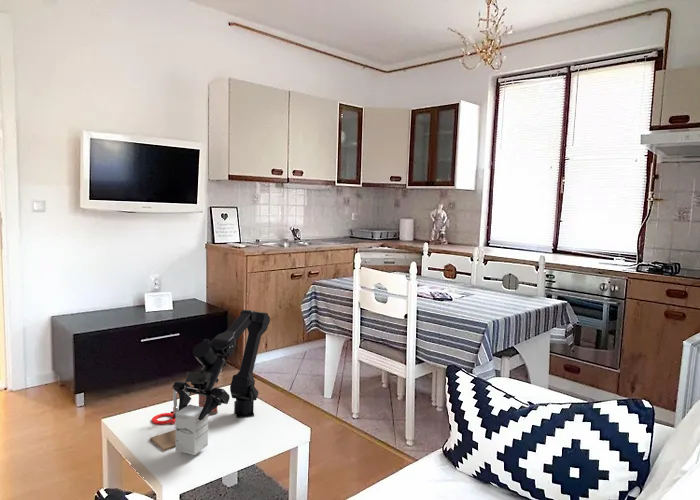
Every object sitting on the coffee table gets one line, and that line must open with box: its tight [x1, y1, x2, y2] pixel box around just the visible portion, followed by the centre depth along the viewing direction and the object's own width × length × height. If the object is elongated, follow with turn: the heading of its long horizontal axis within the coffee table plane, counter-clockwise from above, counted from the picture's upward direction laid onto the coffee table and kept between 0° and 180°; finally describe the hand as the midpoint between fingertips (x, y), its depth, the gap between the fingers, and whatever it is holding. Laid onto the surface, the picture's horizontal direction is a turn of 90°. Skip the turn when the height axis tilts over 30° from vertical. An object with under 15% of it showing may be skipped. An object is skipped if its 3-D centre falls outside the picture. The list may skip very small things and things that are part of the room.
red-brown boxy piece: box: [198, 394, 219, 416], centre depth 188 cm, size 8×3×10 cm, turn 71°
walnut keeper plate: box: [149, 429, 176, 452], centre depth 165 cm, size 10×10×1 cm
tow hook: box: [151, 389, 179, 425], centre depth 180 cm, size 8×13×9 cm
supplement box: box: [174, 404, 209, 456], centre depth 157 cm, size 7×7×13 cm
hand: (189, 417), depth 155 cm, fingers closed on supplement box, 7 cm apart
